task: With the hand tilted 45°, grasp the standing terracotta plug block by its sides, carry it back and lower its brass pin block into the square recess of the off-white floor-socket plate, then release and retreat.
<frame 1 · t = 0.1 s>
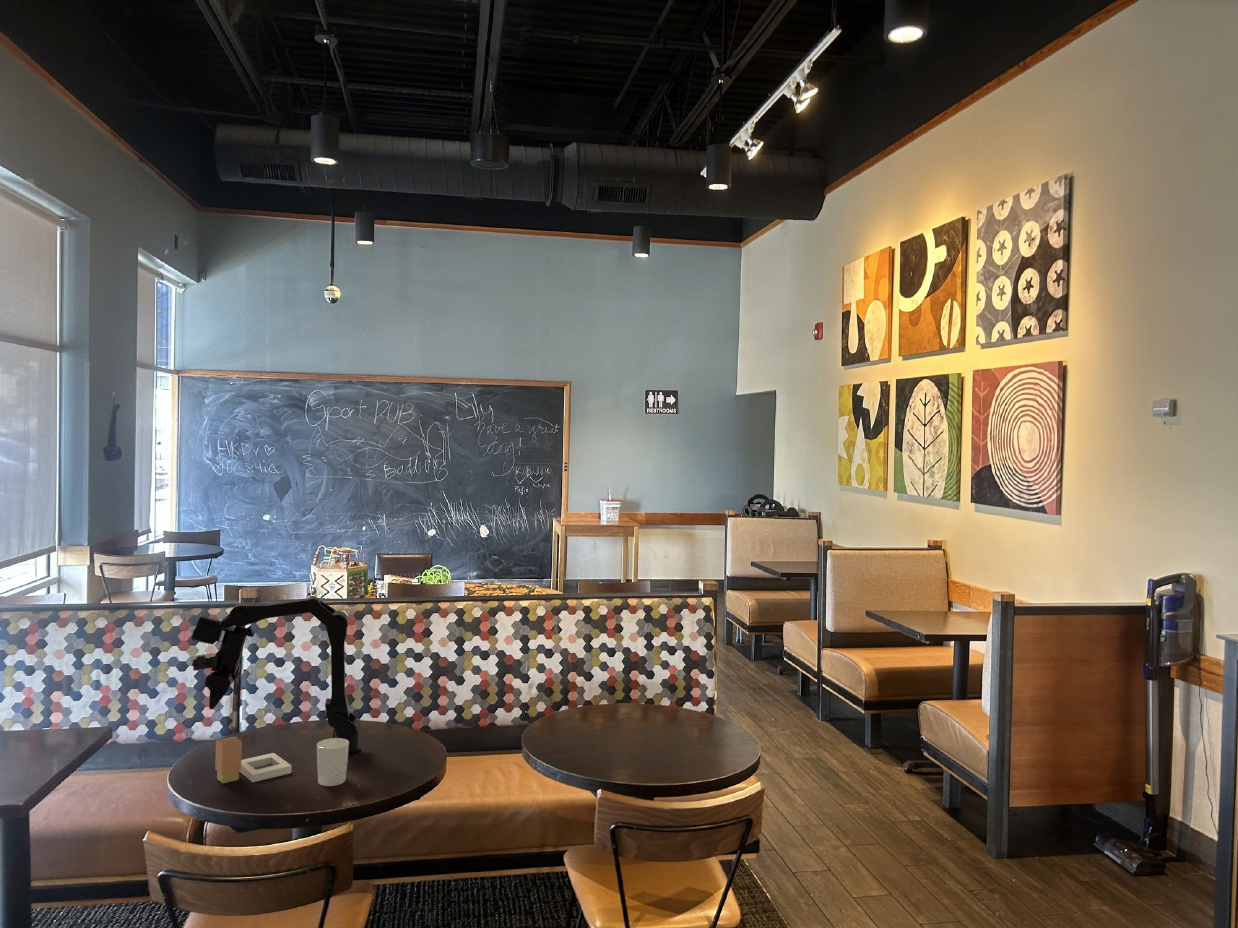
hand: (214, 703, 231), 15 cm above the table, tool pointing down, fingers open, 9 cm apart
socket: (263, 770, 225), on the table
plug: (227, 779, 219), on the table
white cup: (331, 782, 220), on the table
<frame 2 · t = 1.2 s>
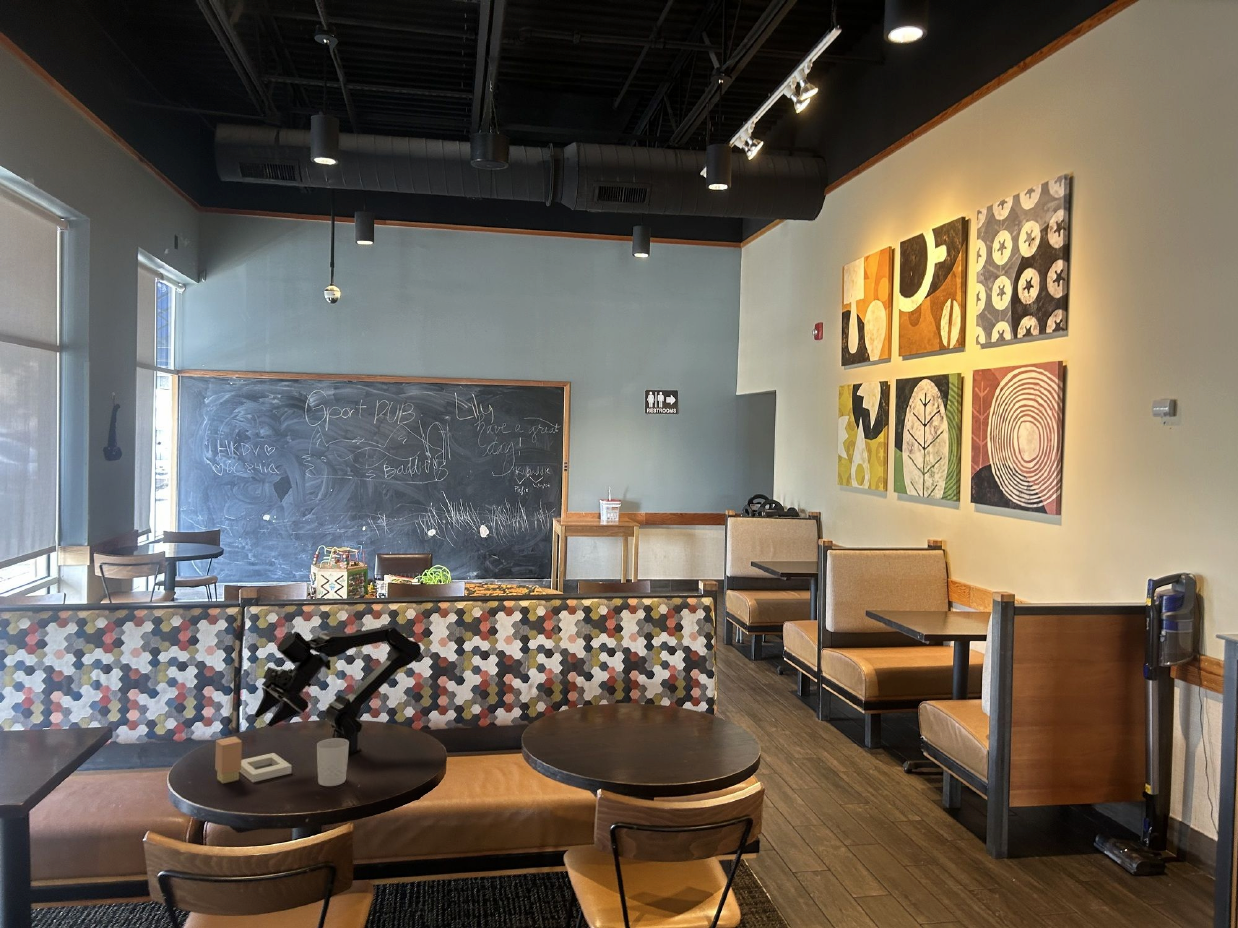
hand: (262, 721, 225), 13 cm above the table, tool tilted 45°, fingers open, 9 cm apart
nothing on the table moved.
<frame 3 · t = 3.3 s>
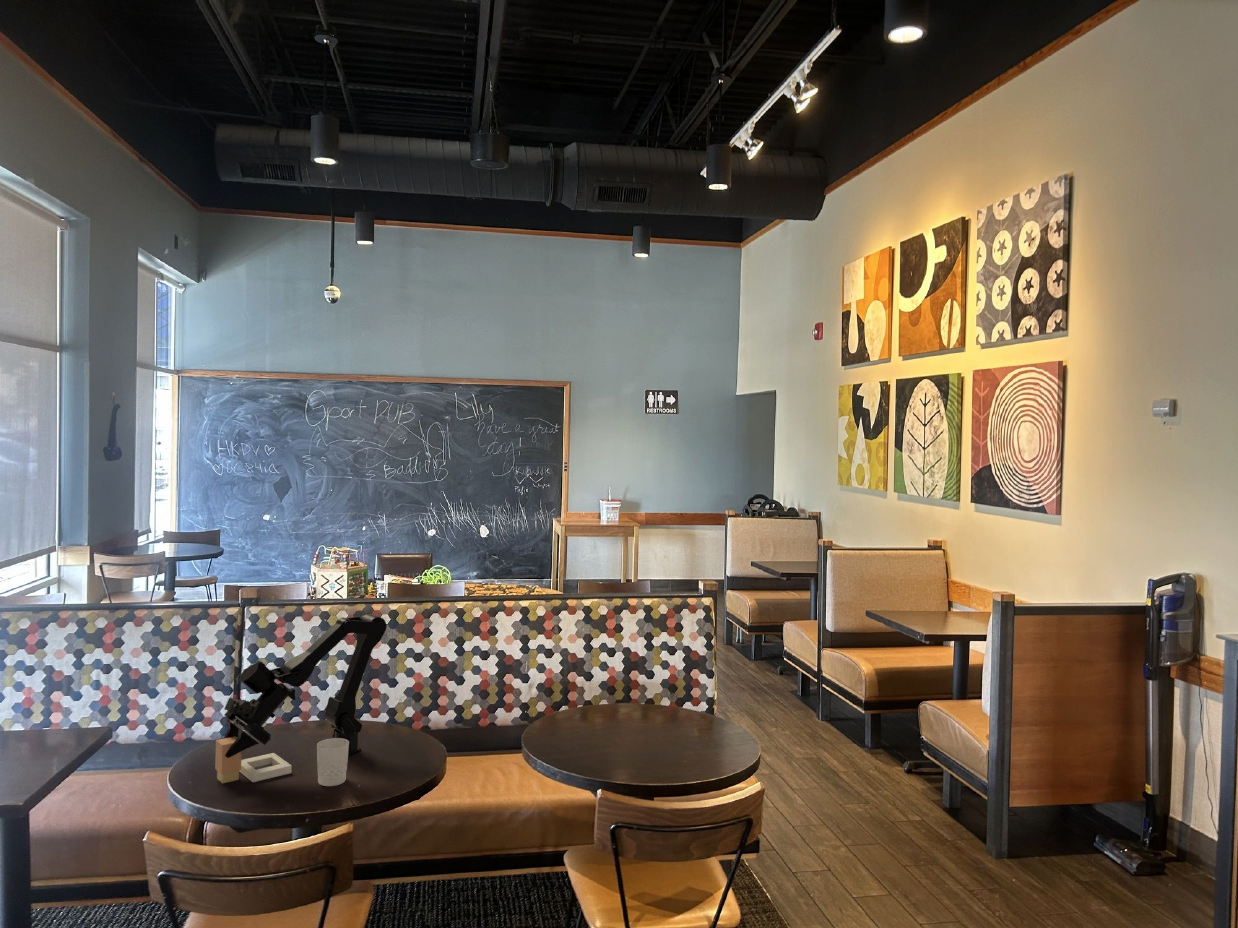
hand: (222, 754, 218), 7 cm above the table, tool tilted 45°, fingers closed on plug, 5 cm apart
plug: (227, 778, 219), on the table, touching gripper
everything else where it was.
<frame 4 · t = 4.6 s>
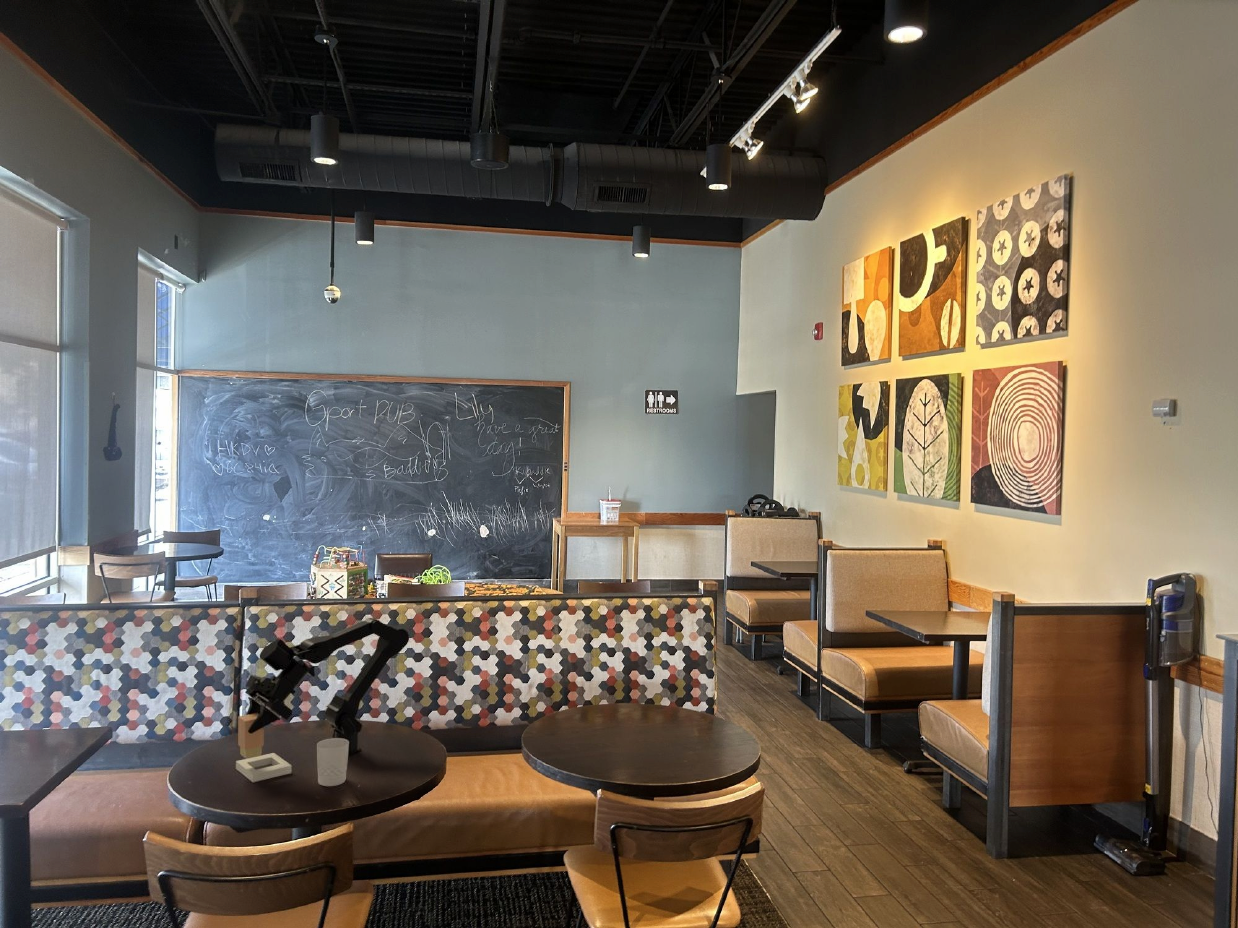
hand: (245, 730, 222), 12 cm above the table, tool tilted 45°, fingers closed on plug, 5 cm apart
plug: (250, 754, 223), point 5 cm above the table, touching gripper
everything else where it was.
when the fingers open (8 cm above the table, at t = 6.4 s): plug stays where it is, resting on socket.
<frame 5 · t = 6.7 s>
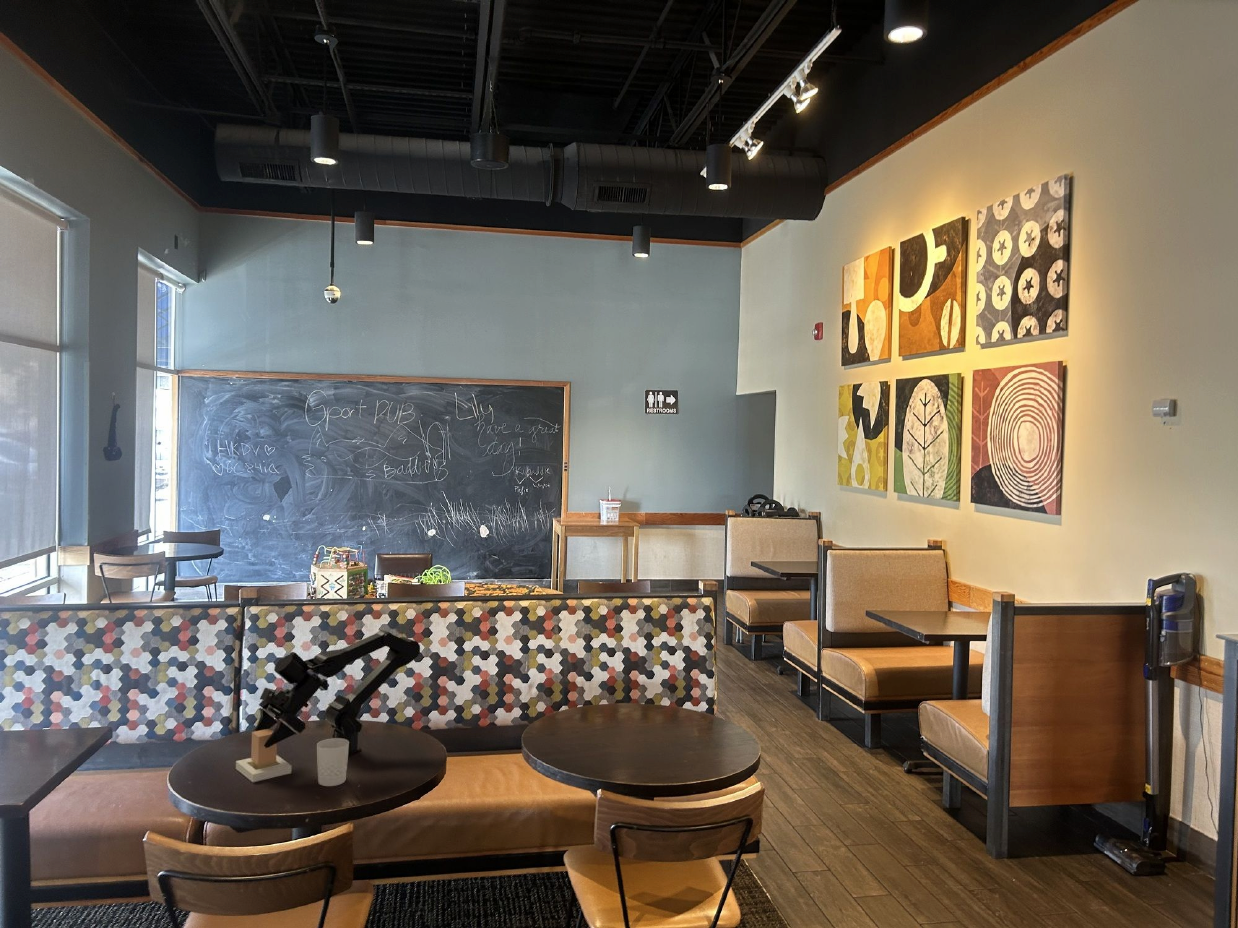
hand: (258, 742, 224), 8 cm above the table, tool tilted 45°, fingers open, 8 cm apart
plug: (263, 769, 225), resting on socket
everything else where it was.
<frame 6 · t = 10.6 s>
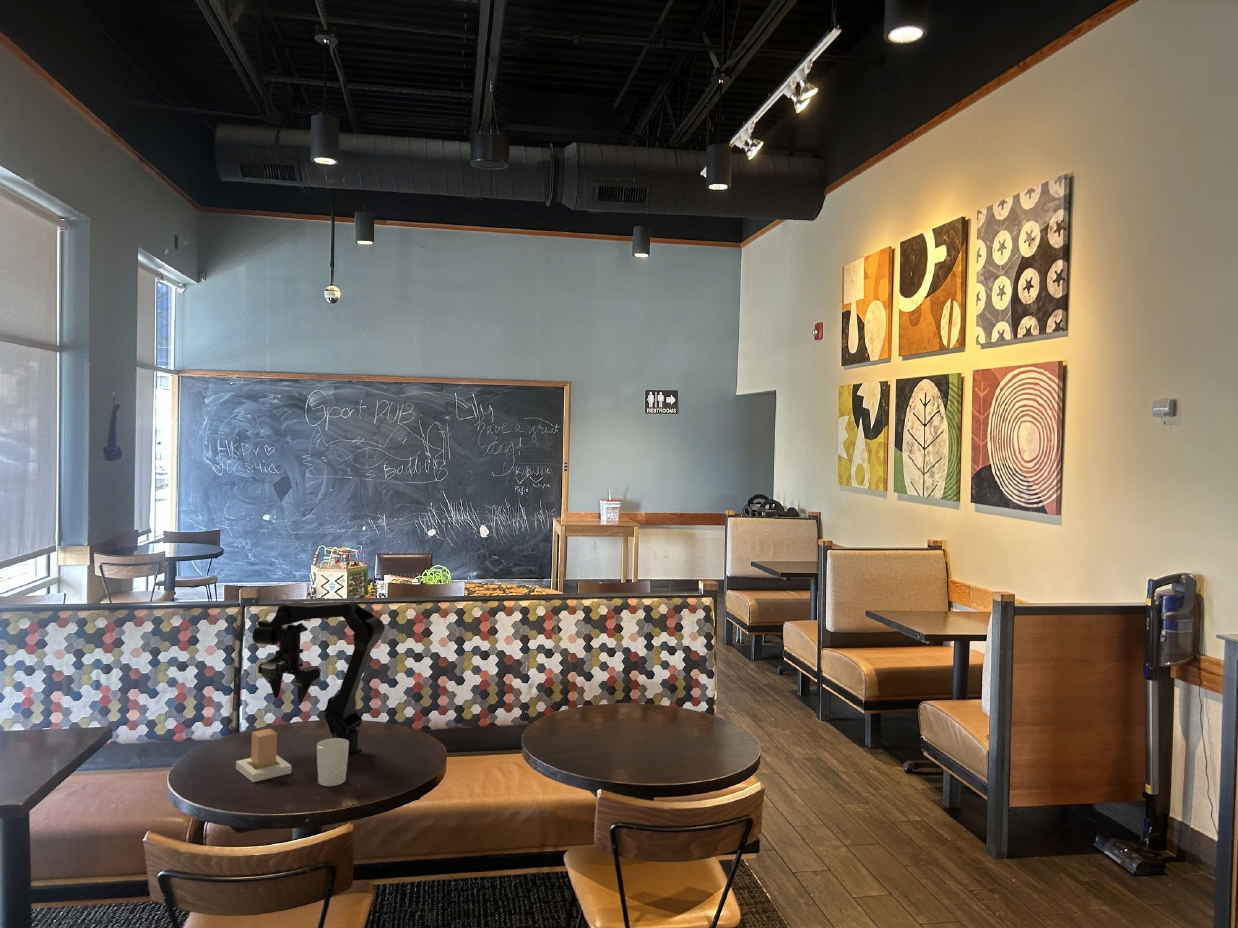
hand: (288, 700, 245), 13 cm above the table, tool pointing down, fingers open, 9 cm apart
nothing on the table moved.
at the end: plug 0.0 cm off-centre on the socket, point 0.2 cm above the socket's base; plug tilted 0°; the gripper is holding nothing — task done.
